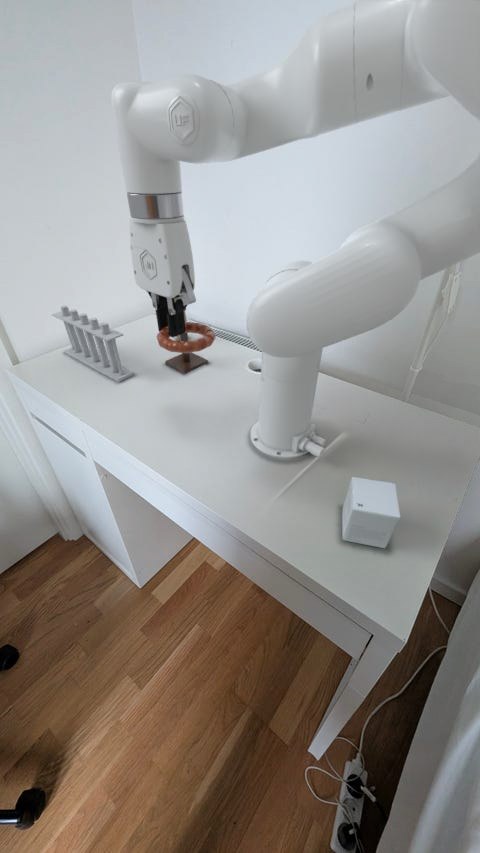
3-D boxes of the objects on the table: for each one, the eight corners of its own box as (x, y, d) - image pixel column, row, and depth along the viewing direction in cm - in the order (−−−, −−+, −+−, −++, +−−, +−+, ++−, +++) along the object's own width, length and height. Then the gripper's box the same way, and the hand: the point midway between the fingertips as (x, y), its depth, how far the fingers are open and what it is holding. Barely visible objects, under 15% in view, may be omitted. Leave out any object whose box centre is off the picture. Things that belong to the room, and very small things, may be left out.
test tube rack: (133, 375, 85) (121, 324, 76) (118, 382, 82) (104, 330, 74) (79, 347, 97) (64, 301, 89) (65, 353, 94) (48, 305, 86)
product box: (385, 550, 47) (401, 518, 43) (341, 541, 48) (351, 509, 44) (382, 515, 52) (396, 483, 47) (341, 507, 53) (351, 475, 48)
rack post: (208, 363, 90) (205, 323, 83) (185, 374, 85) (180, 333, 78) (188, 354, 94) (184, 315, 87) (165, 364, 89) (159, 324, 82)
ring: (226, 340, 58) (226, 330, 57) (184, 360, 52) (183, 350, 51) (188, 326, 63) (188, 316, 62) (146, 342, 57) (144, 332, 56)
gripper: (102, 205, 49) (127, 326, 61) (172, 216, 41) (186, 353, 53) (144, 201, 54) (160, 315, 65) (215, 210, 46) (220, 338, 57)
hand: (172, 331), depth 59 cm, fingers closed on ring, 2 cm apart
